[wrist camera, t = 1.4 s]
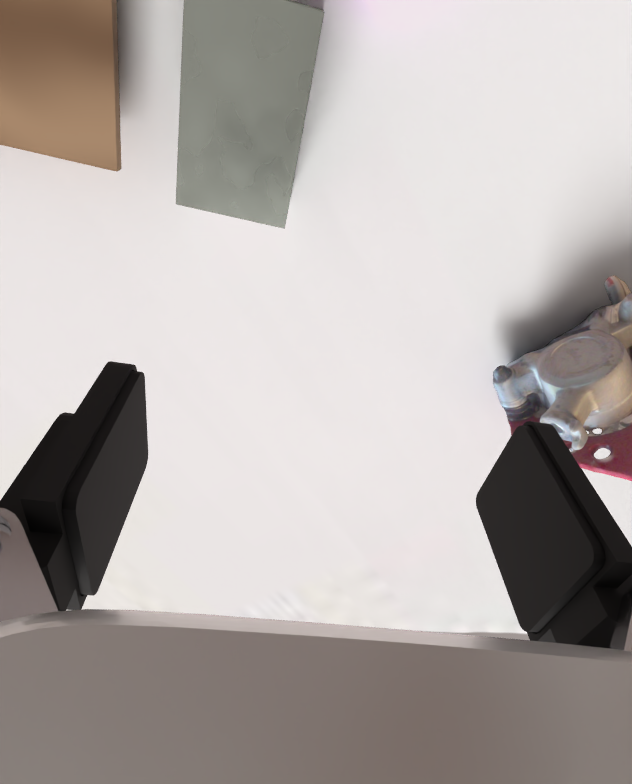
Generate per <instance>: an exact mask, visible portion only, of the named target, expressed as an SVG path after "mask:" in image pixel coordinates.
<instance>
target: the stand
mask: <svg viewBox="0 0 632 784" xmlns="http://www.w3.org/2000/svg"><path fill="white" fill-rule="evenodd" d="M0 145H5V146H9V147H13V148H18V149H22V150H26V151H31V152H35V153H39V154H44V155H48V156H52V157H56V158H61V159H65V160H69V161H74V162H78V163H82V164H87V165H91V166H95V167H100V168H104V169H108V170H113V171H119V170H120V169H121V142H120V105H119V69H118V32H117V0H0Z"/></svg>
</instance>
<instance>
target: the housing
mask: <svg viewBox="0 0 632 784" xmlns="http://www.w3.org/2000/svg"><path fill="white" fill-rule="evenodd" d="M323 11H324V10H322V9H318V8H315V7H311V6H308V5H305V4H301V3H298V2H294V1H291V0H184V12H183V37H182V62H181V87H180V112H179V137H178V162H177V187H176V204H178V205H182V206H187V207H191V208H195V209H200V210H204V211H209V212H213V213H218V214H222V215H226V216H231V217H235V218H240V219H244V220H249V221H253V222H257V223H262V224H266V225H271V226H275V227H280V228H284V229H285V224H286V219H287V213H288V208H289V202H290V197H291V191H292V186H293V180H294V175H295V169H296V164H297V158H298V153H299V148H300V142H301V137H302V131H303V126H304V120H305V115H306V109H307V104H308V98H309V93H310V87H311V82H312V76H313V71H314V66H315V60H316V55H317V49H318V44H319V38H320V33H321V27H322V22H323V16H324V12H323Z"/></svg>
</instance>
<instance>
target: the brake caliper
mask: <svg viewBox="0 0 632 784" xmlns="http://www.w3.org/2000/svg"><path fill="white" fill-rule="evenodd" d="M605 287H606V290H607V293H608V296H609V298H610V300H611V301H612V305H610V306H604V307H601V308H598V309H596V310H594V311H593V312H592V313H591V314H590V315H589V316H588V318H587V319H586V320H584V321H583V322H582V323H580V324H579V325H577V326H576V327H575V328H573V329H571V330H569V331H568V332H566V333H564V334H563V335H561V336H559V337H557V338H555V339H554V340H552V341H551V342H550V343H549V344H548V345H546V346H545V347H544V348H542V349H539V350H536V351H533V352H530V353H526V354H525V355H523V356H521V357H520V358H518V359H517V360H515V361H513V362H511V363H509V364H508V365H507V366H506V367H505V366H499V367H497V368H496V370H495V371H494V372H493V385H494V388H495V389H496V391H497V394H498V398H499V401H500V404H501V405H502V407H503V408H504V409H505V411H506V414H507V417H508V422H509V424H510V427H511V435H512V434H513V433H514V431H515V429H516V428H517V427H518V426H522V425H523V424H524V423H525V422H527V421H533V422H540V423H547V424H551V425H553V426H554V428H555V429H556V430H557V432H558V434H559V435H560V437H561V438H562V440H563V441H564V443H565V444H566V446H567V447H568V449H570V450H571V451H572V452H571V454H572V455H573V457H574V458H575V460H576V461H577V463H578V465H579V466H580V468H584V469H587V470H591V471H593V472H598V473H603V474H607V475H611V476H615V477H619V478H623V479H627V480H630V481H632V293H631V292H630V290H629V289H628V287H627V285H626V283H625V282H624V281H622V280H620V279H619V278H618V277H617V276H614V275H613V276H610V277H609V278H608V279H607V280H606V281H605ZM596 428H600V429H602V433H601V434H594V433H593V432H592V430H593V429H596ZM586 430H587V431H589V433H590V434H587V432H586ZM600 448H606V449H609V450H610V451H611V453H610V455H609V456H608V457H606V458H604V459H596V458H595V457H594V453H595V452H596V451H597V450H598V449H600Z"/></svg>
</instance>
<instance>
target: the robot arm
mask: <svg viewBox="0 0 632 784" xmlns="http://www.w3.org/2000/svg"><path fill="white" fill-rule="evenodd" d="M147 460H148V441H147V419H146V398H145V377H144V373H143V372H137V369H136V366H135V365H132V364H125V363H118V362H108V363H107V364H106V365H105V367H104V368H103V370H102V372H101V373H100V375H99V376H98V378H97V379H96V381H95V382H94V384H93V386H92V387H91V389H90V390H89V392H88V393H87V395H86V396H85V398H84V400H83V401H82V403H81V404H80V406H79V407H78V409H77V410H76V412H75V414H72V413H62V414H60V415H59V417H58V418H57V419H56V420H55V422H54V423H53V424H52V426H51V427H50V429H49V430H48V432H47V433H46V435H45V436H44V438H43V439H42V441H41V442H40V444H39V445H38V446H37V448H36V449H35V451H34V452H33V454H32V455H31V457H30V458H29V460H28V461H27V463H26V464H25V465H24V467H23V468H22V470H21V471H20V473H19V474H18V476H17V477H16V479H15V480H14V482H13V483H12V485H11V486H10V487H9V489H8V490H7V492H6V493H5V495H4V496H3V498H2V499H1V501H0V784H632V547H631V545H630V543H629V542H628V540H627V539H626V537H625V536H624V534H623V533H622V531H621V530H620V528H619V526H618V525H617V523H616V522H615V520H614V519H613V517H612V516H611V514H610V512H609V511H608V509H607V508H606V506H605V505H604V503H603V502H602V500H601V499H600V497H599V495H598V494H597V492H596V491H595V489H594V488H593V486H592V485H591V483H590V482H589V480H588V478H587V477H586V475H585V474H584V472H583V471H582V469H581V468H580V466H579V465H578V463H577V461H576V460H575V458H574V457H573V455H572V454H571V452H570V451H569V449H568V447H567V446H566V444H565V443H564V441H563V440H562V438H561V437H560V435H559V434H558V432H557V430H556V429H555V428H554V426H553V425H551V424H547V423H540V422H533V421H527V422H525V423H524V424H523V425H522V426H518V427H517V428H516V429H515V431H514V433H513V434H512V436H511V438H510V440H509V441H508V443H507V445H506V446H505V448H504V450H503V451H502V453H501V455H500V456H499V458H498V460H497V461H496V463H495V465H494V467H493V468H492V470H491V472H490V473H489V475H488V477H487V478H486V480H485V482H484V483H483V485H482V487H481V488H480V490H479V492H478V494H477V497H476V506H477V509H478V512H479V515H480V517H481V520H482V523H483V526H484V528H485V531H486V534H487V537H488V539H489V542H490V545H491V548H492V550H493V553H494V556H495V559H496V561H497V564H498V567H499V569H500V572H501V575H502V578H503V580H504V583H505V586H506V589H507V591H508V594H509V597H510V600H511V602H512V605H513V608H514V611H515V613H516V616H517V619H518V622H519V624H520V626H521V628H522V629H523V630H524V631H527V633H528V636H529V639H530V641H529V640H518V639H506V638H495V637H483V636H472V635H459V634H448V633H436V632H424V631H412V630H399V629H387V628H375V627H362V626H350V625H337V624H325V623H312V622H299V621H285V620H272V619H259V618H246V617H233V616H219V615H206V614H189V613H172V612H155V611H138V610H96V609H85V610H81V609H82V606H83V604H84V602H85V599H86V597H87V595H95V594H96V593H97V591H98V589H99V586H100V584H101V581H102V579H103V576H104V574H105V571H106V568H107V566H108V563H109V561H110V558H111V556H112V553H113V551H114V548H115V545H116V543H117V540H118V538H119V535H120V533H121V530H122V527H123V525H124V522H125V520H126V517H127V515H128V512H129V509H130V507H131V504H132V502H133V499H134V497H135V494H136V492H137V489H138V486H139V484H140V481H141V479H142V476H143V474H144V471H145V468H146V465H147ZM66 609H68V610H70V611H66Z"/></svg>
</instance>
